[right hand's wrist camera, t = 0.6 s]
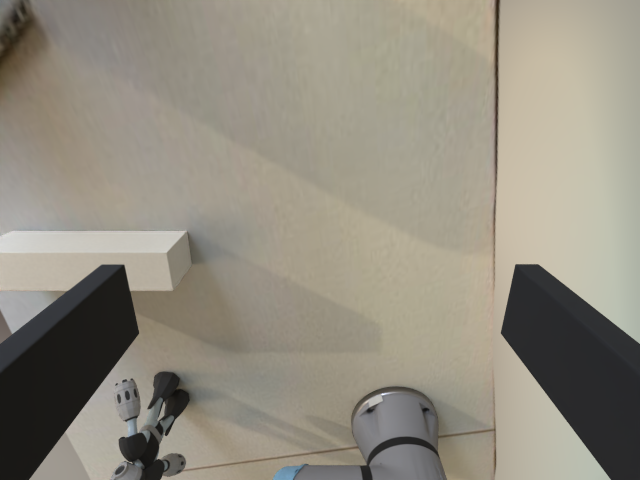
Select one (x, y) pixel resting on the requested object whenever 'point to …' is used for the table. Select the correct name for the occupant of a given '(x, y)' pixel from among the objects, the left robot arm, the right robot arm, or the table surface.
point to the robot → (149, 429)
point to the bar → (92, 258)
